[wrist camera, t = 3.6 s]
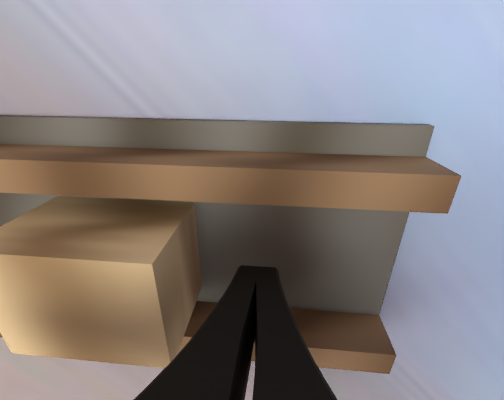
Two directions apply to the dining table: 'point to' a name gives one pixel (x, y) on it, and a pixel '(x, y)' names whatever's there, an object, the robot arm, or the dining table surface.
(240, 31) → the dining table surface
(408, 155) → the channel
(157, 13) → the dining table surface
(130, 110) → the dining table surface
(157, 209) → the block
